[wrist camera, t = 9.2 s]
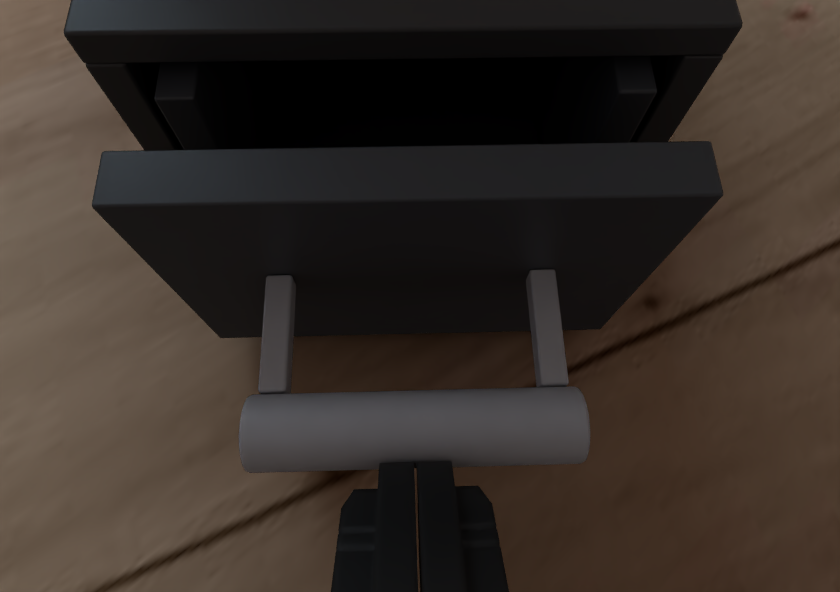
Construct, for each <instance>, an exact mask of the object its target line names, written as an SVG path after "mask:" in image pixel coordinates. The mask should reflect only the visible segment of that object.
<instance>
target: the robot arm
mask: <svg viewBox="0 0 840 592" xmlns="http://www.w3.org/2000/svg"><path fill="white" fill-rule="evenodd" d="M417 494H418V538H419V568H420V592H509V589H508V584H507V579H506V574H505V569H504V564H503V558H502V553H501V548H500V545H499V538H498V533H497V529H496V522H495V517H494V512H493V507H492V503H491V502H490V501H489V499H488V498H487V497H486V495H485V494H484V493H483V491H482V490H481V489H480V488H479V486H455V485H454V476H453V468H452V462H451V461H429V462H417ZM336 549H337V550H336V555H335V563H334V572H333V580H332V588H331V592H418V576H417V545H416V513H415V481H414V462H391V463H379V478H378V489H354V490H353V492H352V493H351V495H350V496H349V498H348V499H347V501H346V502H345V504H344V505H343V507H342V508H341V515H340V523H339V534H338V539H337V547H336Z"/></svg>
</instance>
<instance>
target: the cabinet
mask: <svg viewBox="0 0 840 592" xmlns="http://www.w3.org/2000/svg"><path fill="white" fill-rule="evenodd" d="M741 28H742V20H741V16H740V13H739V9H738V6H737V3H736V0H71V3H70V8H69V12H68V16H67V20H66V24H65V28H64V35H65V37H66V38H67V40H68V41H69V43H70V44H71V46H72V47H73V48H74V50H75V51H76V53H77V54H78V56H79V57H80V58H81V60H82V61H83V62H84V63H86V67H87V69H88V70H89V71H90V73H91V74H92V76H93V77H94V79H95V80H96V82H97V83H98V84H99V86H100V87H101V89H102V90H103V92H104V93H105V94H106V96H107V97H108V99H109V100H110V102H111V103H112V104H113V106H114V107H115V109H116V110H117V112H118V113H119V114H120V116H121V117H122V119H123V120H124V122H125V123H126V124H127V126H128V127H129V129H130V130H131V132H132V133H133V134H134V136H135V137H136V139H137V140H138V142H139V143H140V144H141V146H142V147H143V149H144V150H145V151H147V150H184V149H183V147H182V145H181V143H180V142H179V140H178V138H177V137H176V135H175V133H174V132H173V130H172V128H171V127H170V125H169V123H168V122H167V120H166V118H165V117H164V115H163V113H162V112H161V110H160V108H159V106H158V105H157V103H156V101H155V99H154V97H155V91H156V85H157V79H158V73H159V66H160V62H230V61H304V60H377V59H451V58H524V57H598V56H650V59H651V64H652V69H653V73H654V78H655V83H656V88H657V93H656V95H655V97H654V99H653V100H652V102H651V104H650V106H649V108H648V109H647V111H646V113H645V115H644V117H643V118H642V120H641V122H640V124H639V126H638V127H637V129H636V131H635V133H634V135H633V137H632V138H631V140H630V142H668V141H669V139H670V137H671V136H672V134H673V133H674V131H675V130H676V128H677V127H678V125H679V124H680V122H681V121H682V119H683V118H684V116H685V114H686V113H687V111H688V110H689V108H690V107H691V105H692V104H693V102H694V101H695V99H696V98H697V96H698V95H699V93H700V91H701V90H702V88H703V87H704V85H705V84H706V82H707V81H708V79H709V78H710V76H711V75H712V73H713V72H714V70H715V68H716V67H717V65H718V64H719V62H720V61H721V59H722V57H723V54H724V53H725V52H726V51H727V49H728V48H729V46H730V44H731V43H732V41H733V40H734V38H735V37H736V35H737V34H738V32H739V31H740V29H741Z"/></svg>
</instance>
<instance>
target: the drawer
mask: <svg viewBox="0 0 840 592" xmlns="http://www.w3.org/2000/svg"><path fill="white" fill-rule="evenodd" d="M656 93H657V88H656V83H655V78H654V73H653V69H652V64H651V59H650V56H598V57H524V58H451V59H377V60H304V61H230V62H160V66H159V73H158V79H157V85H156V91H155V97H154V99H155V101H156V103H157V105H158V106H159V108H160V110H161V112H162V113H163V115H164V117H165V118H166V120H167V122H168V123H169V125H170V127H171V128H172V130H173V132H174V133H175V135H176V137H177V138H178V140H179V142H180V143H181V145H182V147H183V149H184V150H147V151H104V152H102V155H101V160H100V165H99V170H98V175H97V180H96V186H95V191H94V196H93V201H92V207H93V209H94V210H95V211H96V212H97V213H98V214H99V215H100V216H101V217H102V218H103V219H104V220H105V221H106V222H107V223H108V224H109V225H110V226H111V227H112V228H113V229H114V230H115V231H116V232H117V233H118V234H119V235H120V236H121V237H122V238H123V239H124V240H125V241H126V242H127V243H128V244H129V245H130V246H131V247H132V248H133V249H134V250H135V251H136V252H137V253H138V254H139V255H140V256H141V257H142V258H143V259H144V260H145V262H146V263H147V264H148V265H149V266H150V267H151V268H152V269H153V270H154V271H155V272H156V273H157V274H158V275H159V276H160V277H161V278H162V279H163V280H164V281H165V282H166V283H167V284H168V285H169V286H170V287H171V288H172V289H173V290H174V291H175V292H176V293H177V294H178V295H179V296H180V297H181V298H182V299H183V300H184V301H185V302H186V303H187V304H188V305H189V306H190V307H191V308H192V309H193V310H194V311H195V312H196V313H197V314H198V316H199V317H200V318H201V319H202V320H203V321H204V322H205V323H206V324H207V325H208V326H209V327H210V328H211V329H212V330H213V331H214V332H215V333H216V334H217V335H218V336H219V337H220V338H243V337H262V343H261V357H260V372H259V386H258V390H259V392H260V393H261V394H256V395H251V396H249V397H248V398H247V399H246V401H245V403H244V406H243V409H242V413H241V418H240V426H239V451H240V457H241V461H242V465H243V468H244V469H245V471H247V472H249V473H265V472H300V471H336V470H372V469H379V463H391V462H414V468H417V462H429V461H451V462H452V467H479V466H515V465H551V464H581V463H583V462H584V461H585V460H586V459H587V456H588V452H589V447H590V421H589V413H588V408H587V405H586V401H585V398H584V396H583V394H582V392H581V390H580V389H579V388H577V387H574V386H572V387H566V386H567V385H568V383H569V381H568V372H567V364H566V356H565V347H564V339H563V331H562V330H587V329H601V328H602V327H603V325H604V324H605V323H606V322H607V321H608V320H609V319H610V318H611V317H612V316H613V315H614V314H615V312H616V311H617V310H618V309H619V308H620V307H621V306H622V305H623V304H624V303H625V302H626V300H627V299H628V298H629V297H630V296H631V295H632V294H633V293H634V292H635V291H636V290H637V289H638V287H639V286H640V285H641V284H642V283H643V282H644V281H645V280H646V279H647V278H648V277H649V275H650V274H651V273H652V272H653V271H654V270H655V269H656V268H657V267H658V266H659V265H660V263H661V262H662V261H663V260H664V259H665V258H666V257H667V256H668V255H669V254H670V253H671V252H672V250H673V249H674V248H675V247H676V246H677V245H678V244H679V243H680V242H681V241H682V240H683V238H684V237H685V236H686V235H687V234H688V233H689V232H690V231H691V230H692V229H693V228H694V227H695V225H696V224H697V223H698V222H699V221H700V220H701V219H702V218H703V217H704V216H705V215H706V213H707V212H708V211H709V210H710V209H711V208H712V207H713V206H714V205H715V204H716V203H717V201H718V200H719V199H720V198H721V197H722V196H723V190H722V186H721V181H720V177H719V173H718V169H717V165H716V161H715V157H714V153H713V149H712V144H711V142H709V141H688V142H630V140H631V138H632V137H633V135H634V133H635V131H636V129H637V127H638V126H639V124H640V122H641V120H642V118H643V117H644V115H645V113H646V111H647V109H648V108H649V106H650V104H651V102H652V100H653V99H654V97H655V95H656ZM501 331H531V337H532V347H533V357H534V367H535V377H536V387H533V388H493V389H454V390H414V391H374V392H335V393H295V394H291V378H292V358H293V338H294V336H329V335H372V334H415V333H458V332H501Z"/></svg>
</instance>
